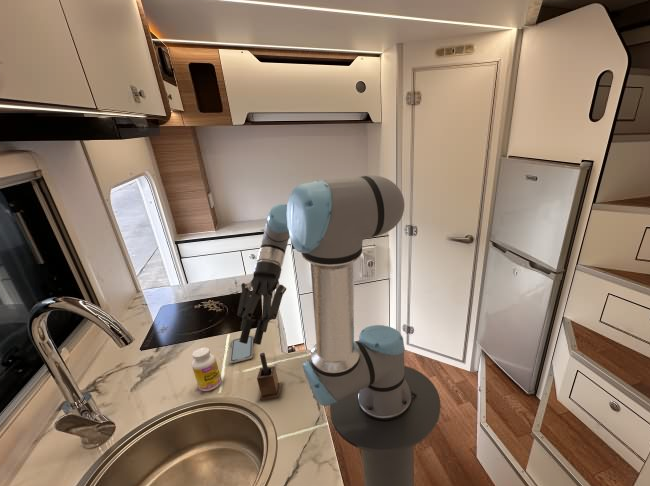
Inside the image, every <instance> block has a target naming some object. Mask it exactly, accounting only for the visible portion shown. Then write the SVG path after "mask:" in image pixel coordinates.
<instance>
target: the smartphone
mask: <svg viewBox="0 0 650 486" xmlns="http://www.w3.org/2000/svg"><path fill="white" fill-rule="evenodd" d="M239 341H240V338H234V339H233V340H232V343H231V351H230V359H229V360H230V363H231V364H234V363H239V362H243V361H247V360H252V359H253V355H254V354H253V352H254V351H253V348H254V347H253V346H254V343H253V341H254V337H253V336H252V335H249V338H248V342H247V344H244V343H241V342H239Z"/></svg>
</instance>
